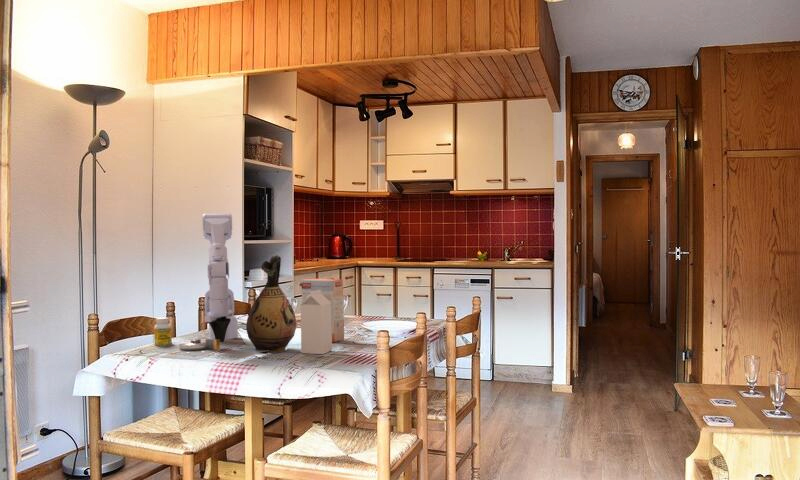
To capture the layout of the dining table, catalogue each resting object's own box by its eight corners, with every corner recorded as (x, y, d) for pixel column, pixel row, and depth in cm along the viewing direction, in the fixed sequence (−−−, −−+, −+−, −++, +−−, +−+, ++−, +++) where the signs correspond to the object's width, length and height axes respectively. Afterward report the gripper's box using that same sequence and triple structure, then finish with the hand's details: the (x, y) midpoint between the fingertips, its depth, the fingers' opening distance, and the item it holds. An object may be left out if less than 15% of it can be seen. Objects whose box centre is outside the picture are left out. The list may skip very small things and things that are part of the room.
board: (196, 343, 226) (196, 340, 226) (241, 348, 217) (241, 344, 217) (148, 354, 209) (148, 350, 209) (195, 359, 199) (195, 355, 199)
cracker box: (345, 340, 228) (343, 278, 227) (334, 343, 223) (332, 280, 222) (313, 337, 235) (312, 277, 235) (302, 339, 230) (300, 279, 230)
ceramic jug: (290, 355, 203) (288, 256, 202) (240, 355, 204) (238, 257, 203) (302, 345, 220) (300, 254, 219) (256, 345, 221) (254, 254, 220)
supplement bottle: (169, 344, 225) (168, 316, 225) (173, 347, 221) (172, 318, 220) (152, 346, 222) (152, 318, 222) (156, 349, 218) (156, 319, 217)
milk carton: (332, 350, 209) (330, 290, 209) (322, 354, 203) (321, 292, 202) (311, 349, 212) (310, 289, 211) (301, 353, 205) (299, 292, 204)
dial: (172, 349, 211) (172, 339, 211) (196, 343, 219) (196, 334, 219) (206, 352, 204) (206, 342, 204) (229, 347, 212) (229, 337, 212)
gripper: (219, 296, 220) (220, 337, 220) (195, 301, 206) (196, 345, 206) (239, 296, 218) (240, 338, 218) (215, 301, 204) (216, 346, 204)
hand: (220, 341), depth 212 cm, fingers closed
